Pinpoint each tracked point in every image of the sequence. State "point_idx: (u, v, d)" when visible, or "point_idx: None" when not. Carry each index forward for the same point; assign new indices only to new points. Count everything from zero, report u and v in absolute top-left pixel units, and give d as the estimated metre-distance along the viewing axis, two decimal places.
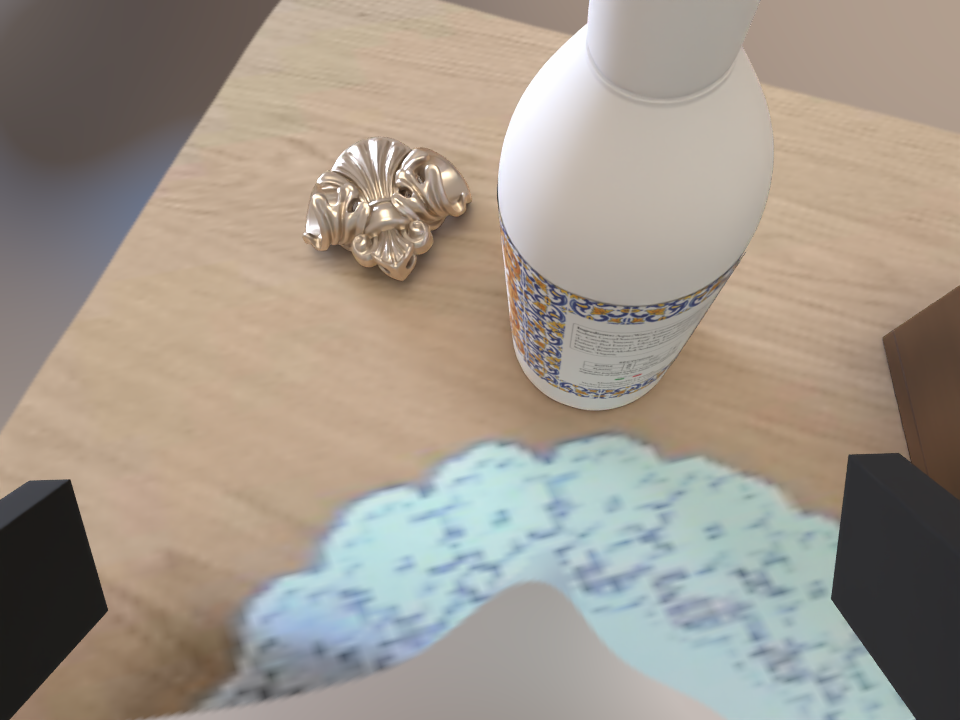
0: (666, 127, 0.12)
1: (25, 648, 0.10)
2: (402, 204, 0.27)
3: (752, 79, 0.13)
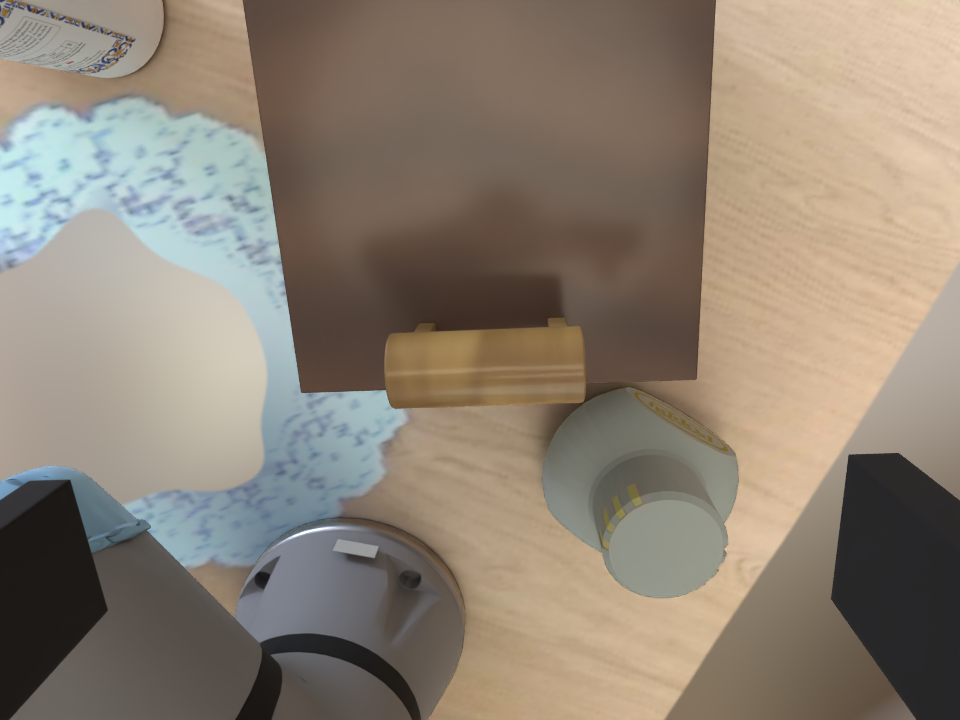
0: None
1: (25, 648, 0.10)
2: None
3: None
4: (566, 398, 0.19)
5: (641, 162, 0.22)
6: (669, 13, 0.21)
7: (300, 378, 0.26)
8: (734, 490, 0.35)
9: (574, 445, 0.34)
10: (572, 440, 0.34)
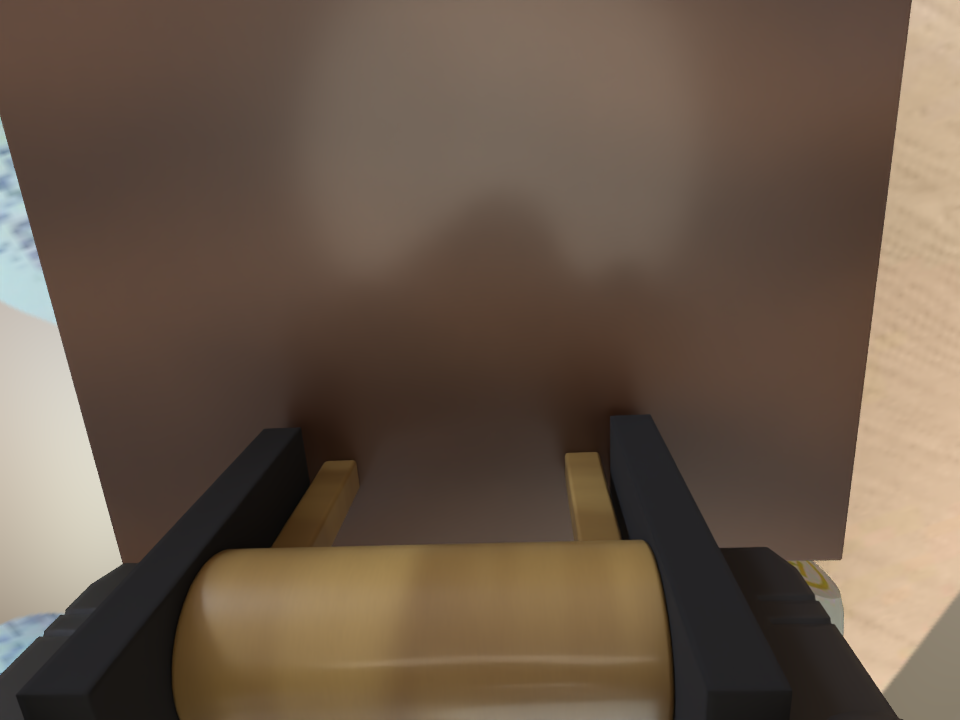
0: None
1: None
2: None
3: None
4: None
5: (757, 156, 0.11)
6: None
7: (121, 551, 0.14)
8: None
9: None
10: None
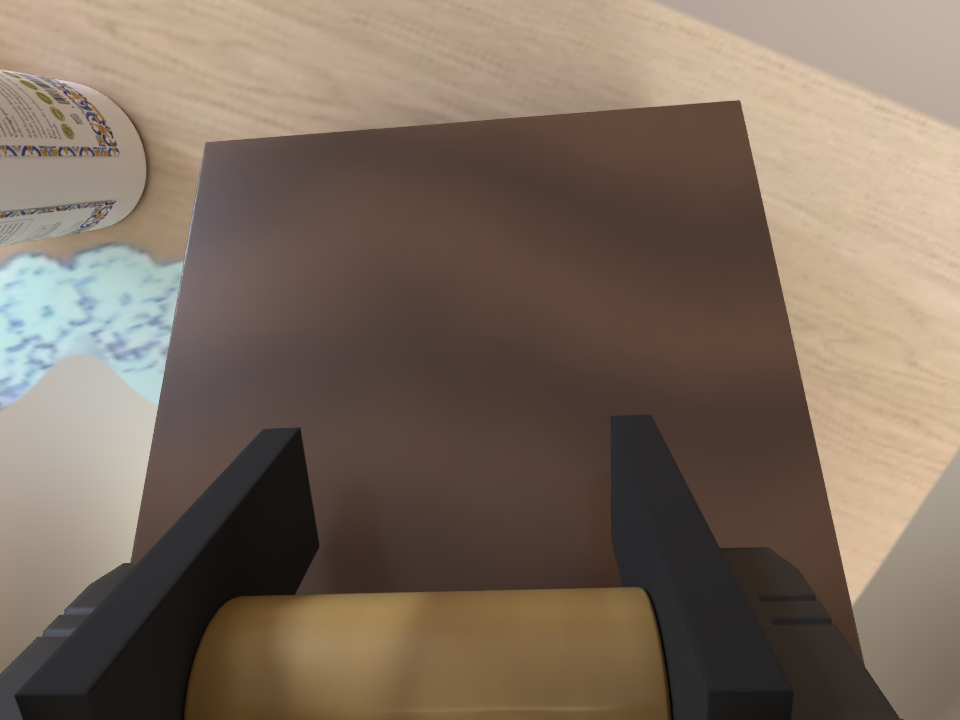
0: None
1: (284, 568, 0.11)
2: None
3: None
4: None
5: (702, 383, 0.15)
6: (707, 215, 0.17)
7: None
8: None
9: None
10: None
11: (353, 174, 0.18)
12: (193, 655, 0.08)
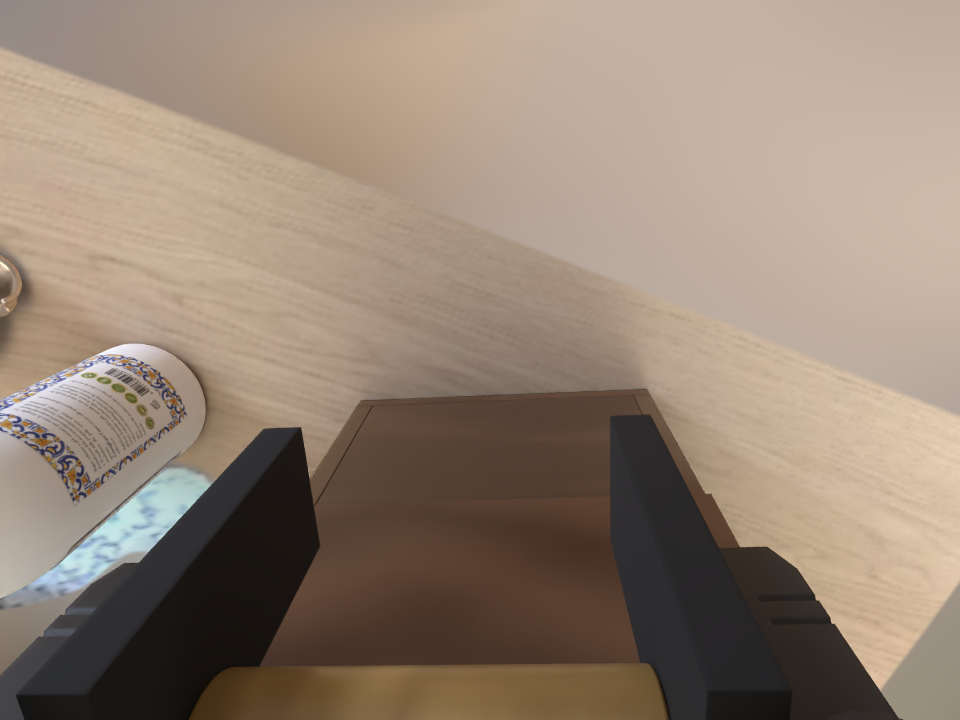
0: None
1: (284, 568, 0.11)
2: None
3: None
4: None
5: None
6: None
7: None
8: None
9: None
10: None
11: (399, 527, 0.22)
12: (194, 655, 0.08)
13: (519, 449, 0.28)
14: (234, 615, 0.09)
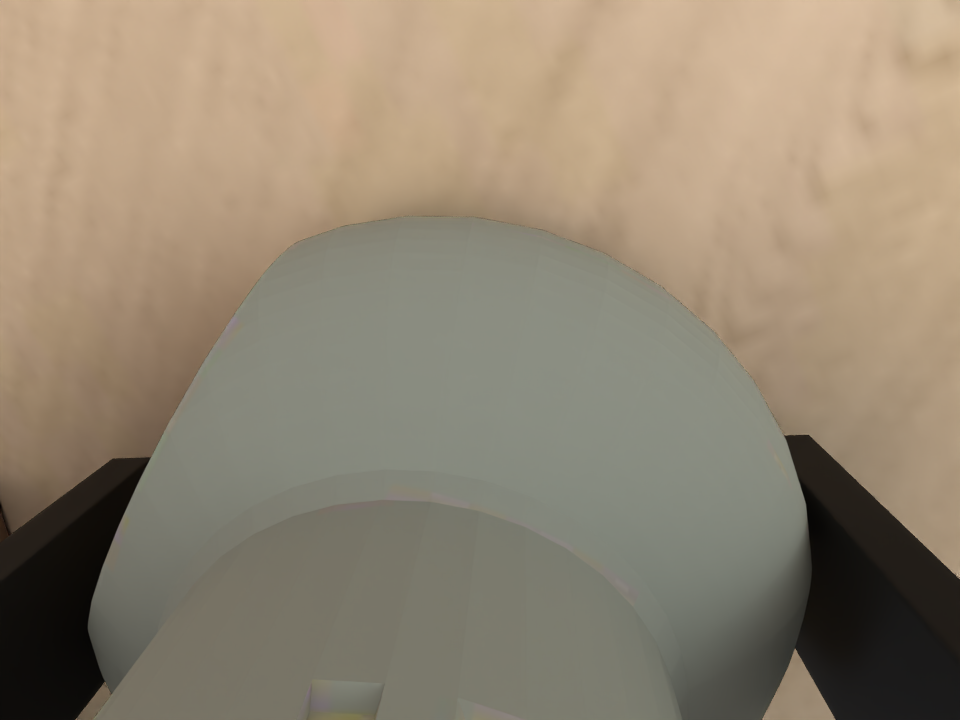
0: None
1: None
2: None
3: None
4: None
5: None
6: None
7: None
8: (398, 280, 0.07)
9: None
10: None
11: None
12: None
13: None
14: (23, 677, 0.08)
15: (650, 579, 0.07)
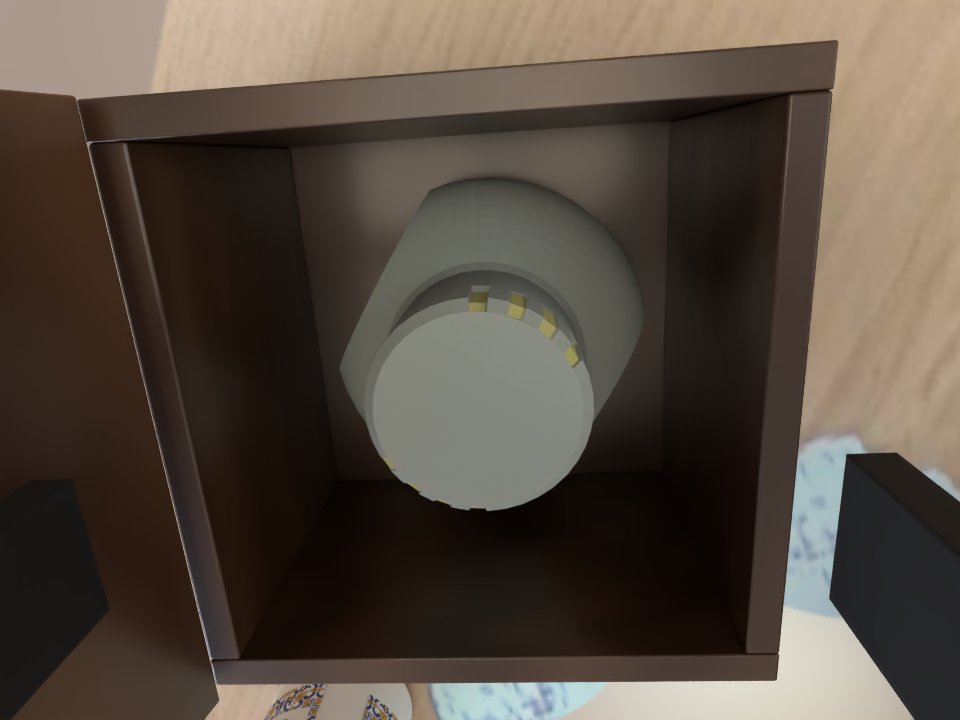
0: None
1: (27, 647, 0.10)
2: None
3: None
4: None
5: None
6: None
7: None
8: (477, 199, 0.20)
9: None
10: None
11: None
12: None
13: None
14: None
15: (570, 302, 0.19)
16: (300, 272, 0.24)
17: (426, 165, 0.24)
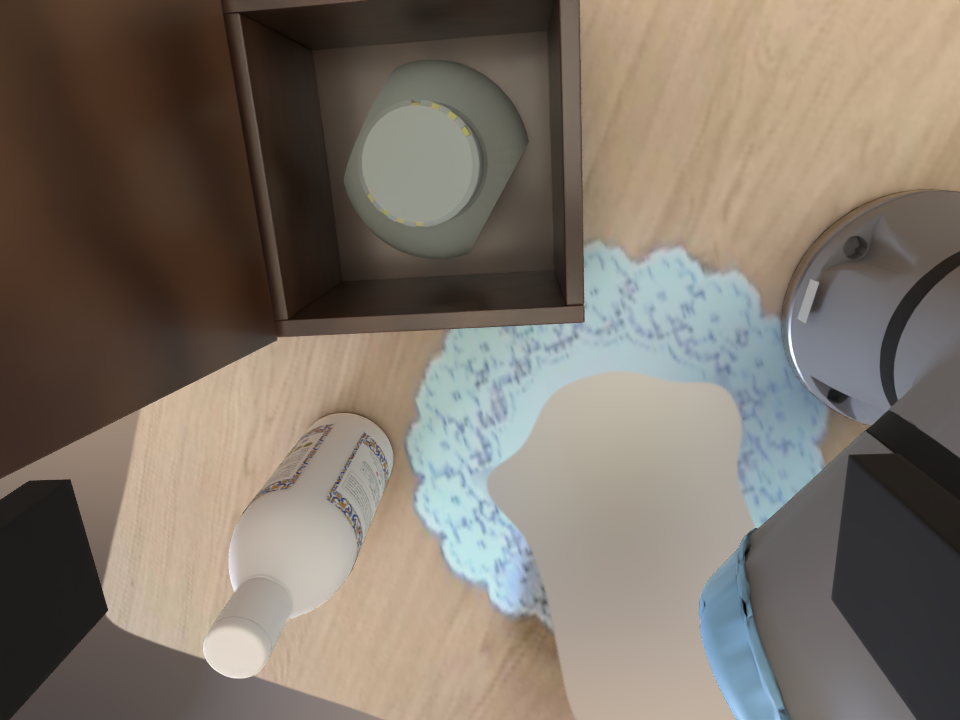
0: (299, 595, 0.32)
1: (25, 648, 0.10)
2: None
3: (269, 555, 0.32)
4: None
5: None
6: None
7: None
8: (424, 68, 0.34)
9: (387, 236, 0.36)
10: (385, 237, 0.37)
11: None
12: None
13: None
14: None
15: (476, 126, 0.33)
16: (318, 130, 0.38)
17: (398, 61, 0.38)
